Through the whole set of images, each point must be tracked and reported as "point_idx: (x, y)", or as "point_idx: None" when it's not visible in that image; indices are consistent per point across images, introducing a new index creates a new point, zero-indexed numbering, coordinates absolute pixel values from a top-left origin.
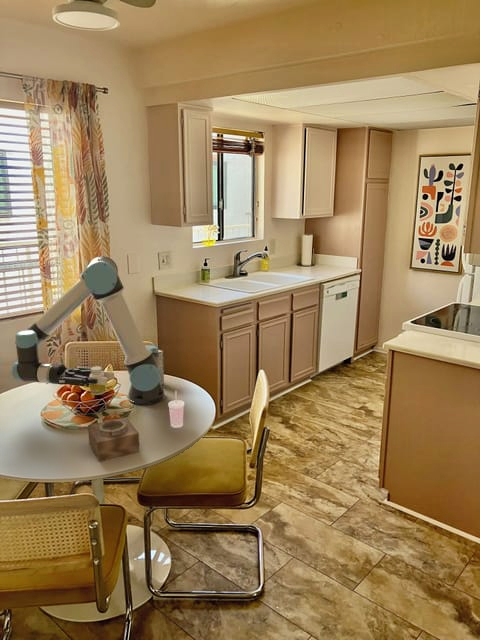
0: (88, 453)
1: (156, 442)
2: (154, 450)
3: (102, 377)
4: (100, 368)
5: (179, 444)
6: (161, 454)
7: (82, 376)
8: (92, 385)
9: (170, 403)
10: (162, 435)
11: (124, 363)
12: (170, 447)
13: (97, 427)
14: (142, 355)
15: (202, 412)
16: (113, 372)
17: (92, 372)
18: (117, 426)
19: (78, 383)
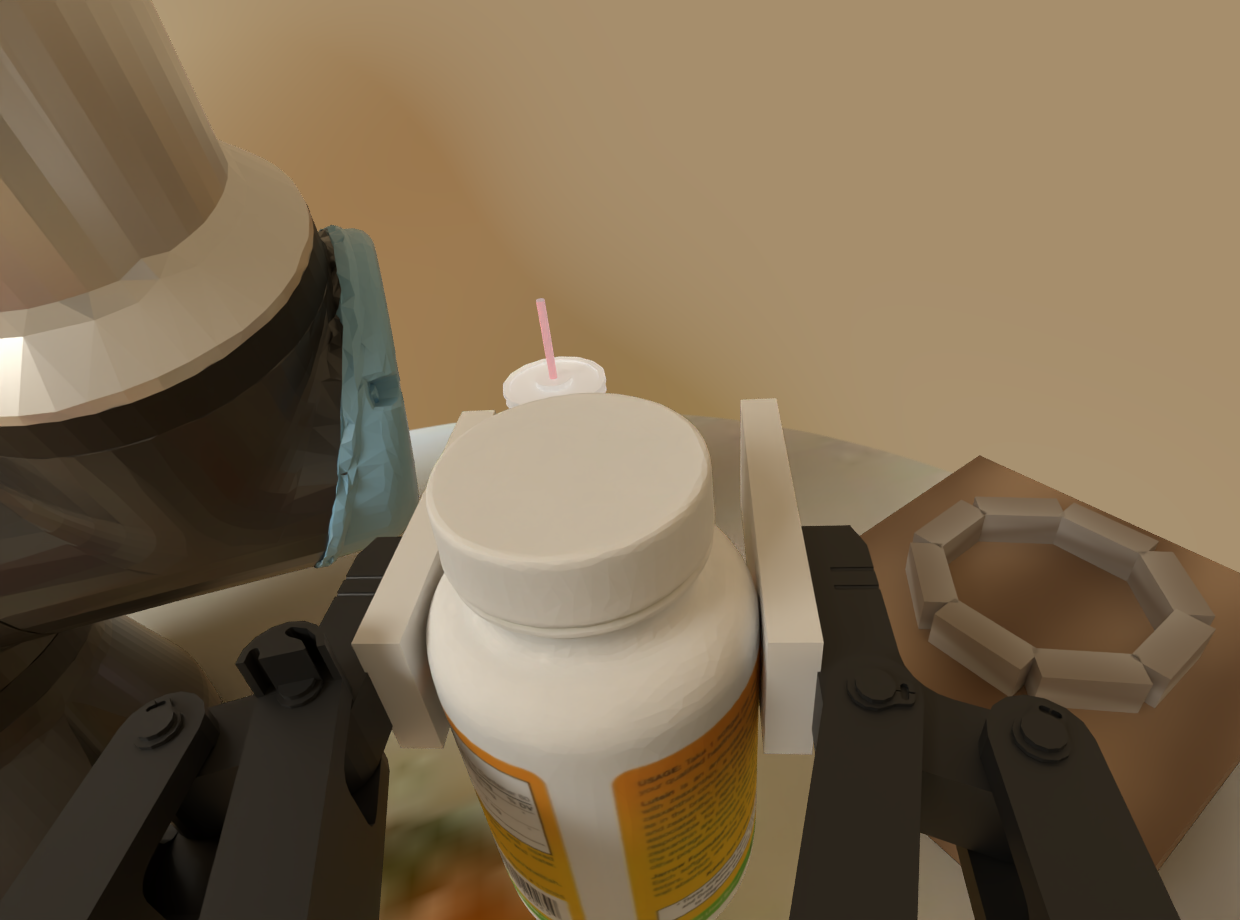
0: (1236, 880)
1: (807, 522)
2: (897, 506)
3: (753, 442)
4: (586, 398)
5: (785, 443)
6: (918, 472)
7: (838, 861)
8: (754, 753)
9: None
10: (716, 521)
11: (151, 384)
12: (831, 462)
13: (1109, 739)
14: (232, 149)
15: (418, 449)
16: (480, 416)
17: (707, 549)
18: (973, 590)
19: None
